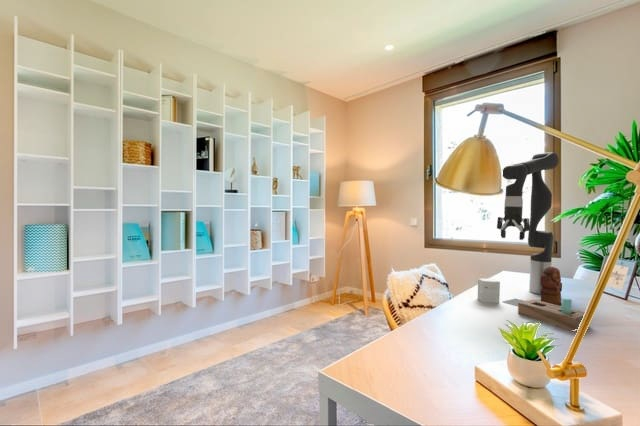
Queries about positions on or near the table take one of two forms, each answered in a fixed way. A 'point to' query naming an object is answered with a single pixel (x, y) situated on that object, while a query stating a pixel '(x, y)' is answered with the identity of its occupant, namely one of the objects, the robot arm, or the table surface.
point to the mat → (513, 302)
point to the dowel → (566, 305)
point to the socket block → (550, 314)
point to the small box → (488, 290)
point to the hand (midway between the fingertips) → (512, 238)
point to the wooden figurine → (551, 286)
